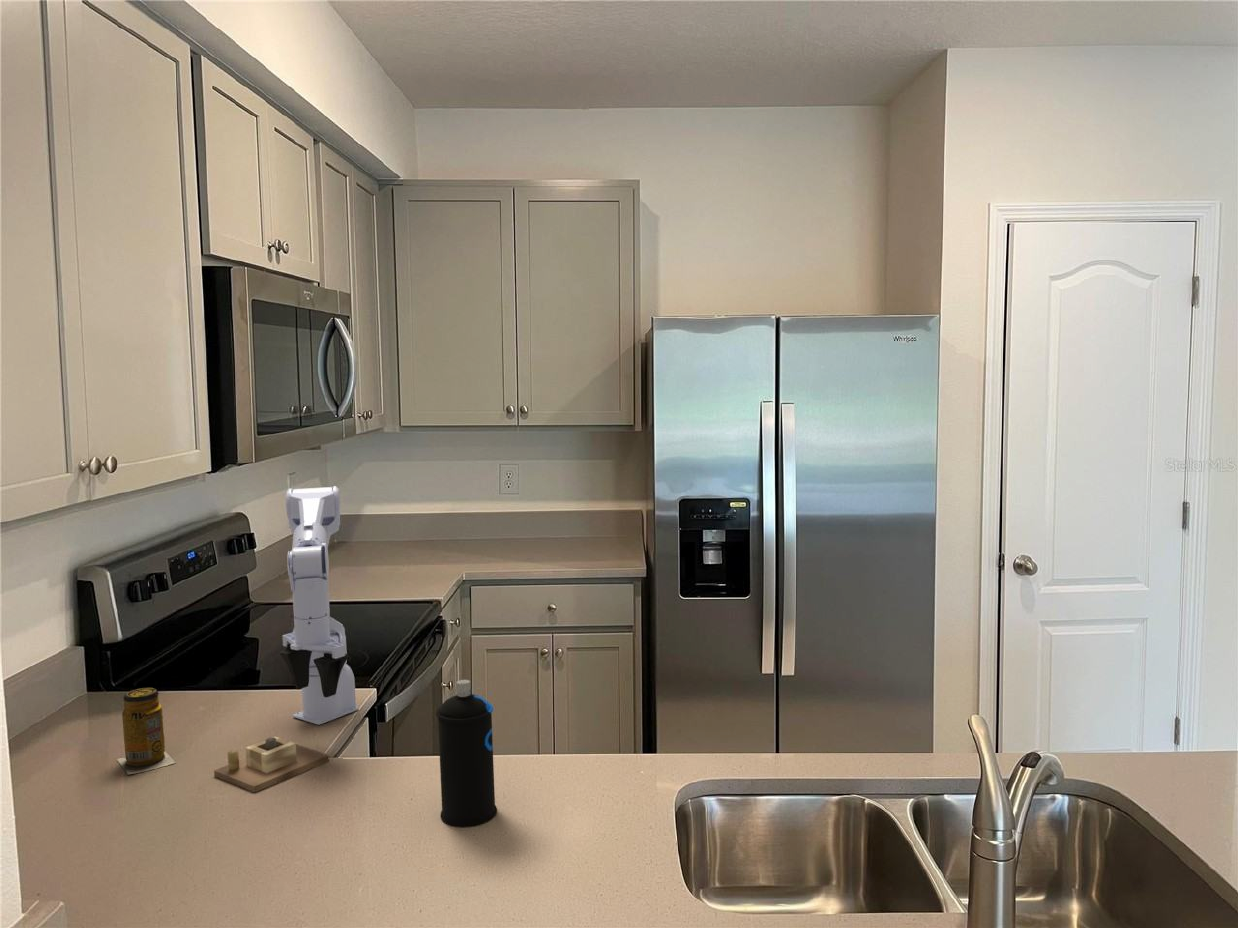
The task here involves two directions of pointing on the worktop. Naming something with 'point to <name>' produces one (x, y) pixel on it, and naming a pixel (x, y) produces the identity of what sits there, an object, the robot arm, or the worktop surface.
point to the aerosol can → (466, 758)
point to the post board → (259, 780)
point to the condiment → (143, 732)
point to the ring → (270, 755)
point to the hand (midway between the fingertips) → (315, 691)
